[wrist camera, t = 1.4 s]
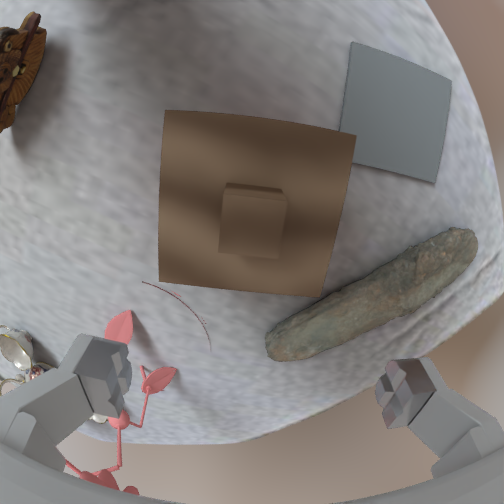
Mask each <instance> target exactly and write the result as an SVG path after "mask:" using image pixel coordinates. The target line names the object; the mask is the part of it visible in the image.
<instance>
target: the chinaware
mask: <svg viewBox="0 0 504 504" xmlns="http://www.w3.org/2000/svg"><path fill="white" fill-rule="evenodd" d="M1 327H4V328H6V329H8V327H6V326H4V325H1V326H0V328H1ZM8 330H9V329H8ZM20 330H21V329H20ZM32 339H33V338H32V337H31V336H30V335H29V334H28V332H27V331H24V330H21V331H18V330H15V329H13V330H11V331H10V330H9V331H8V332H7V333H5V334H1V335H0V347H1V352H2V354H3V356H4V357H5V358H6V359H7V360H8V361H11V362H14V364H15V365H16V366H17V368H19V369H20V370H25V371H24V377H23V376H22V375H21V374H17V375H16V376H15V378H16V380H15V379H5V380H3V381H2V382H1V384H0V396H2V393H1V389H2V386H3V385H4V384H5V383H7V382H15V383H18V384H20V385H22V384H24V383H26V382H28V381H30V380H32V379H34V378H36V377H37V376H39V375H41V374H43V373H45V372H47V371H49V370H50V369H52V368H54V367H53V366H51V365H49V364H47V363H44V362H38V363H36V365H34V366H33V364H32V358H33V345H32V343H31V342H32ZM24 379H25V382H24ZM21 382H23V383H21ZM92 419H93V420H94V421H96V422H97V423H101V424H103V423H105V422H106V421H108V416H104V415H100V414H96V413H94V415H93V416H92V417H90V418H89V419H88V420H92Z"/></svg>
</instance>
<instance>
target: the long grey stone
mask: <svg viewBox="0 0 504 504" xmlns="http://www.w3.org/2000/svg"><path fill="white" fill-rule="evenodd" d="M477 250H478V241H477V238H476V236H475V233H474V232H473V231H472V230H470V229H460V228H459V229H456V228H455V227H451V228H450V229H449V231H446V232H441V233H440V234H438V235H436V236H435V237H432V238H430V239H429V240H427V241H425V242H423V243H419V244H418V246H415V247H412V246H409V247H408V249H407V250H406V251H405V252H404V253H402V254H399V255H398V257H397V258H396V259H394V260H392V261H391V262H389V263H387V264H385V265H383V266H381V267H379V268H377V269H376V270H375V271H373V272H372V273H371V274H369V275H368V276H366V277H365V278H364V279H361V280H358V281H356V282H354V283H351V284H350V285H348V286H347V287H343V288H342V289H341V291H339V292H333V293H332V294H330V295H329V296H328V297H326V298H324V299H322V300H321V301H319V302H317V303H316V304H314V305H312V306H311V307H308V308H307V309H305V310H303V311H301V312H299V313H297V314H295V315H292V316H291V317H289V318H288V319H286V320H285V321H284V322H282V323H278V324H277V326H276V328H275V329H273V330H272V331H271V332H270V333H269V332H267V333H266V336H265V341H266V350H267V353H268V357H270V358H271V359H273V360H274V361H280V362H282V361H295V360H302V359H306V358H310V357H312V356H314V355H316V354H318V353H320V352H322V351H324V350H327V349H330V348H332V347H335V346H338V345H341V344H343V343H345V342H347V341H349V340H351V339H354V338H355V337H357V336H359V335H360V334H362V333H365V332H367V331H370V330H371V329H374V328H376V327H378V326H381V325H383V324H385V323H387V322H388V321H390V320H392V319H394V318H395V317H398V316H399V317H402V316H404V315H407V314H410V313H413V312H415V311H416V310H417V309H418V308H420V307H421V305H422V304H424V303H426V301H428V300H429V299H430V298H432V297H433V298H435V296H436V295H437V294H438V293H440V292H441V291H442V289H443V288H445V287H446V286H447V285H449V284H451V283H452V282H453V281H454V280H455V279H456V278H457V277H458V276H459V275H460V274H461V273H462V272H463V271H464V270H465V269H466V268H467V267H468V266H469V265H470V263H471V262H472V261H473V259H474V257H475V256H476V253H477Z"/></svg>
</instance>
